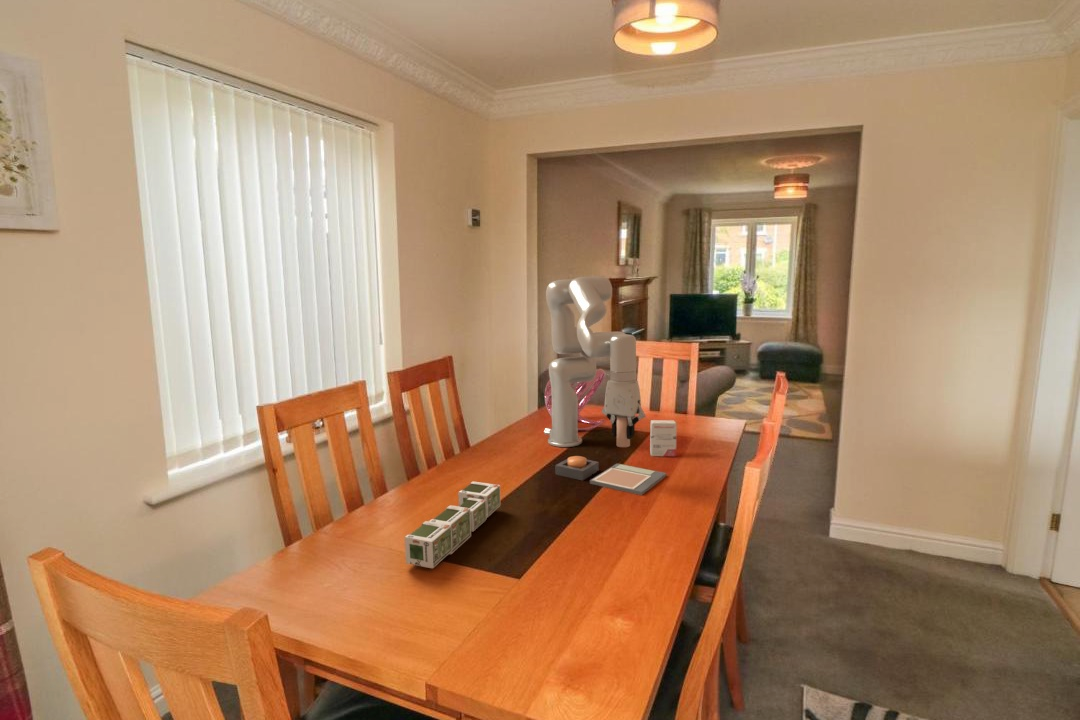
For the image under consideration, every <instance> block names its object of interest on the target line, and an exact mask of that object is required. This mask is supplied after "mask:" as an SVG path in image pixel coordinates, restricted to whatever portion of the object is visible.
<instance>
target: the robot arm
mask: <svg viewBox="0 0 1080 720" xmlns="http://www.w3.org/2000/svg"><path fill="white" fill-rule="evenodd" d="M612 286H613V285H612V283H611V282H610V280H609V279H608V278H607V277H605V276H601V275H600V276H598V275H597V276H596V275H595V276H578V277H575V278H572V279H569V278H567V279H557V280H553V281H551V282H549V284H548V285H547V287H546V291H545V299H546V305H547V307H548V310H549V315H550V328H551V329H550V331H551V346H552V350H553V352H554V353H555V354H559V355H569V354H571V355H572V354H579V355H580V356H573V357H572V356H569V357H559V358H556V359H553V360H552V361H551V362H549V364H548V377H549V380H550V382H551V384H550V385H551V393H552V396H551V398H552V405H551V407H552V417H551V428H550V427H546V428H544V431H543V434H544V435H547V436H548V435H549V437H548V438H547V443H548V444H549V445H550V446H553V447H559V448H570V447H571V448H572V447H578V446H579V445H581V444H582V443H583V438H582V437H580V436H578V435H579V433H578V432H579V431H578V428H579V426H578V425H579V424H578V423H579V421H578V405H579V401H578V397H577V393H576V391H575V390H574V389H575V388H573V386H571V384H573V383H575V384H579V383H582V382H589V381H592V380H593V379H594V378H595V375H596V371H597V358H607V357H609V366H610V367H609V368H610V369H609V371H606V372H605V376H607V377H609V379H608V380H607V382H606V387H605V392H604V393H605V394H604V406H603V408H602V409H601V413H602V414H604V416H606V418H608V420H609V421H610V424H611V433H612V437H613V438H615V437H616V415H620V416H627V418H628V423H629V425H628V426H627V439H630V440H631V439H632V438H634V436H635V425H636V424H637V423H638V422H639V421H640V420H642V419H643V418H646V413H645V411H644V410H643V408H642V401H641V391H640V386H639V385H640V384H639V381H638V380H637V340H636V337H635V336H634V335H633V334H626V333H625V332H623V331H601V332H593V330H592V329H591V328H590V327H592V326H593V325H594V324H595V325H596V324H597V323H599V322H600V321H601V320H602V319H604V317H605V315H606V313H607V306H606V304H605V303H604V302H607V301H608V300H610V299H611V298H612V295H613V287H612ZM570 304H574V306H575V307H576V309H577V311H578V313H579V316H580V317H579V319H578V321H577V325H576V324H575V323H576V322H575V321H576V320H575V313H574V311H573V309H572V308H571V307H570V306H569V305H570ZM636 415H637V416H636ZM616 438H617V437H616Z"/></svg>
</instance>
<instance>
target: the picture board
mask: <svg viewBox="0 0 1080 720" xmlns="http://www.w3.org/2000/svg"><path fill="white" fill-rule="evenodd" d="M666 477H667V472H664V471H658V470H652V469H649V468H648V469H647V468H642V467H638V466H632V465H628V464H623V463H617V462H616V463H615V464H613V465H612V466H610V467H609V468H607V469H606V470H603V472H601V473H599V474H597V475H596V476H594V477H593V478H590V480H589V484H590V485H594V486H599V487H604V488H607V489H612V490H617V491H622V492H624V493H625V492H626V493H629V492H630V494H634V495H638V496H643V495H644V494H646V493H647V492H648V491H649V490H651V489H652V488H653V487H655V486H656V485H657V484H658V483H660V482H661V481H662V480H663V479H664V478H666Z"/></svg>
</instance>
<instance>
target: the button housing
mask: <svg viewBox="0 0 1080 720" xmlns="http://www.w3.org/2000/svg"><path fill="white" fill-rule="evenodd" d="M599 464H600V463H599V461H595V460H590V459H587V465H586V466H585V467H583V468H581V469H580V468H575V467H570V466H568V458H567V459H564V460H563V461H561V462H558V463H557V464H555V465H554V470H555V472H554V473H555V474H554V475H556V476H560V477H566V478H569V479H574V480H579V481H584V480H586V479H588V478H590V477H591V476H593V475H594V474H596V473H598V472H599V470H600V469H599ZM597 471H598V472H597ZM592 474H593V475H592Z"/></svg>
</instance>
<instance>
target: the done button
mask: <svg viewBox="0 0 1080 720" xmlns="http://www.w3.org/2000/svg"><path fill="white" fill-rule="evenodd" d="M567 459H568V466H570V467H575V468H580V469H581V468H583V467H585V466H586V465H587V460H588V459H587V457H585V456H582V455H581V456H580V455H573V456H569V457H567Z"/></svg>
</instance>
